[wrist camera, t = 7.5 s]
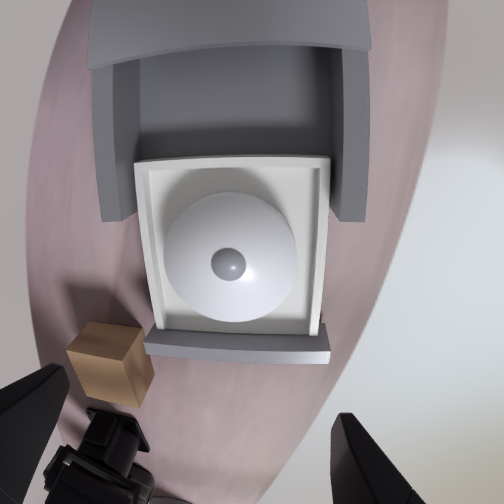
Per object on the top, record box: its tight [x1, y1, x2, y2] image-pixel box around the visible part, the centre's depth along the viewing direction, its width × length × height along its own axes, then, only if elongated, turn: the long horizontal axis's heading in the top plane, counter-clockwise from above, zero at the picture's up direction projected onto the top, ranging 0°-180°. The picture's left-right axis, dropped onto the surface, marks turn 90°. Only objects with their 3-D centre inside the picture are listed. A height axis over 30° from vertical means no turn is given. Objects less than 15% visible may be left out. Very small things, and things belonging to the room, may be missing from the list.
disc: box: [163, 191, 298, 322], centre depth 16 cm, size 7×7×2 cm
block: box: [66, 321, 155, 408], centre depth 21 cm, size 5×5×4 cm
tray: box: [134, 154, 331, 364], centre depth 17 cm, size 12×12×3 cm
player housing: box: [87, 0, 372, 222], centre depth 13 cm, size 14×13×5 cm
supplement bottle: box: [127, 464, 155, 504], centre depth 27 cm, size 7×7×12 cm
